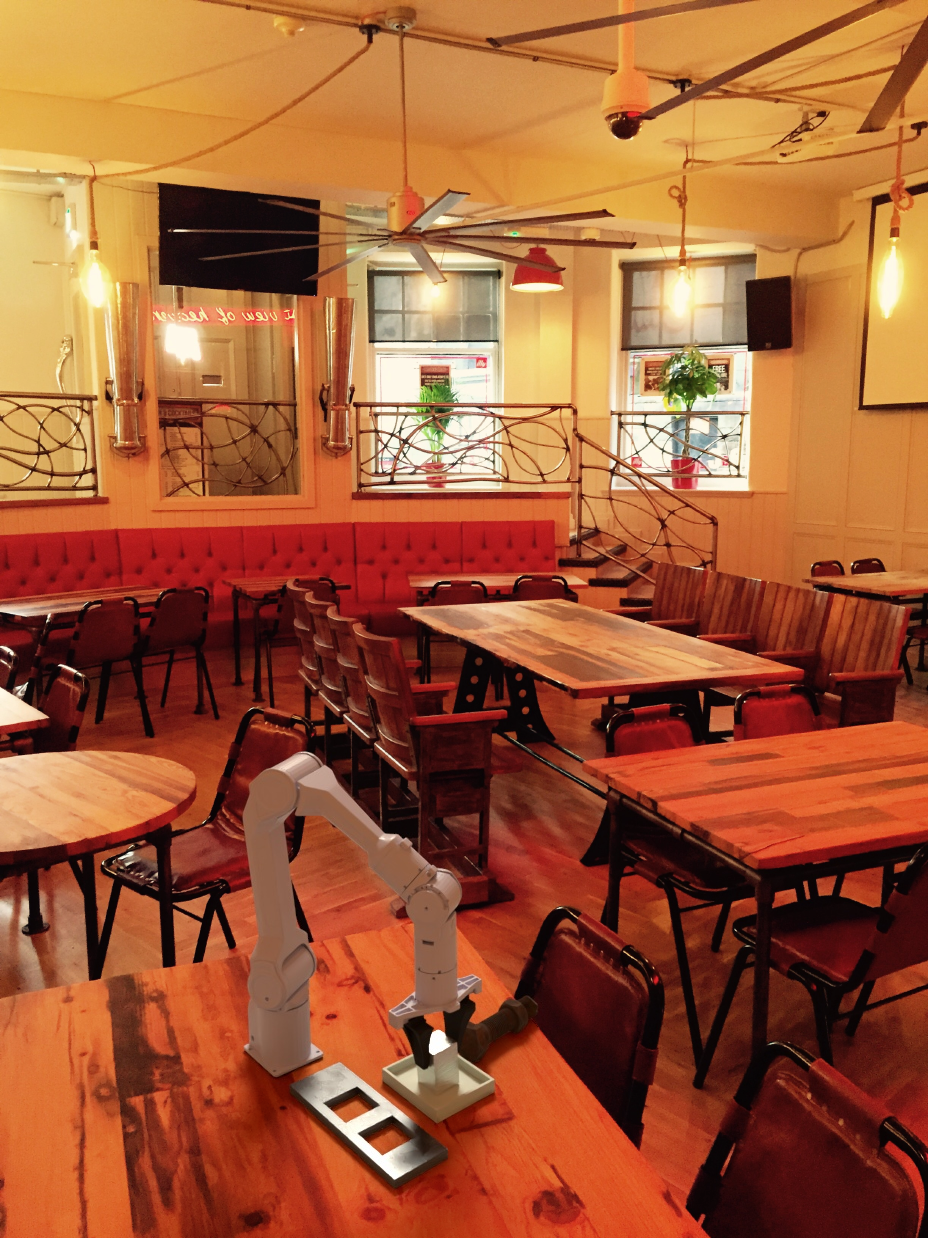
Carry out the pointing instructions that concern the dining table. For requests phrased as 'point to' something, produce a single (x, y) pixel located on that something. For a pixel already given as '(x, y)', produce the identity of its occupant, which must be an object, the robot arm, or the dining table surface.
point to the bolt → (496, 1027)
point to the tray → (446, 1103)
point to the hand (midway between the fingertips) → (437, 1058)
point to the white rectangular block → (440, 1064)
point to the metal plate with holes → (369, 1124)
